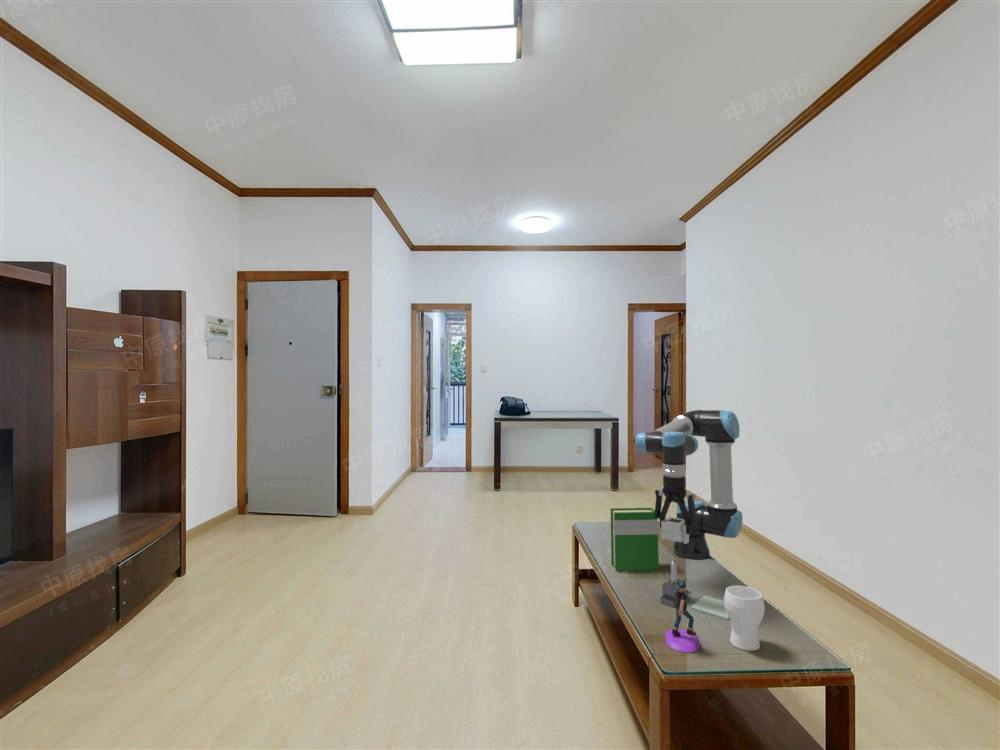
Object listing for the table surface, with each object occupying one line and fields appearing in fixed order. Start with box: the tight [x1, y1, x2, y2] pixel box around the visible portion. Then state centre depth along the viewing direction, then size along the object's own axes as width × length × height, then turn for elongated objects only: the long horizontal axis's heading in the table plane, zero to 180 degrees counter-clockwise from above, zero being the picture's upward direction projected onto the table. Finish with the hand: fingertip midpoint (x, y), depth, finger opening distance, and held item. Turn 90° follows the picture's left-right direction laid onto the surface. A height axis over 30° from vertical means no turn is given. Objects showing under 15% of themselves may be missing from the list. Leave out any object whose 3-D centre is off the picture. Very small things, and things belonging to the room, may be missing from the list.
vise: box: [659, 559, 689, 608], centre depth 172 cm, size 16×5×14 cm, turn 137°
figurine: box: [665, 582, 700, 653], centre depth 142 cm, size 9×9×18 cm
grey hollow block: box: [660, 516, 685, 542], centre depth 171 cm, size 7×7×6 cm
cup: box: [723, 585, 765, 652], centre depth 142 cm, size 11×11×15 cm
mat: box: [690, 594, 730, 621], centre depth 164 cm, size 12×12×1 cm
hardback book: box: [610, 507, 660, 572], centre depth 201 cm, size 18×7×24 cm, turn 90°
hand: (675, 540), depth 171 cm, fingers closed on grey hollow block, 7 cm apart
